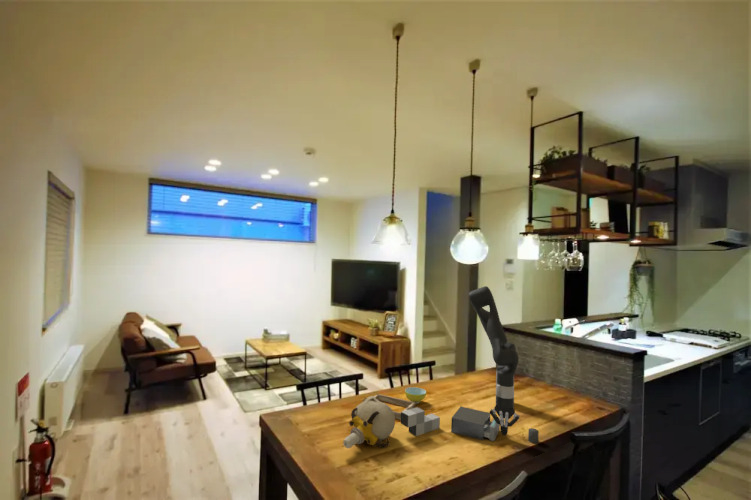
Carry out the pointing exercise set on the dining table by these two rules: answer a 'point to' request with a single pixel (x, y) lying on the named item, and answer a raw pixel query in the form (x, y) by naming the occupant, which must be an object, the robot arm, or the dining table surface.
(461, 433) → the housing
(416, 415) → the block
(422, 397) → the bowl
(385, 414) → the decorative object
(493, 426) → the tray
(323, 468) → the dining table surface
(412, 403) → the serving frame
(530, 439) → the capsule
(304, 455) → the dining table surface
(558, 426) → the dining table surface
